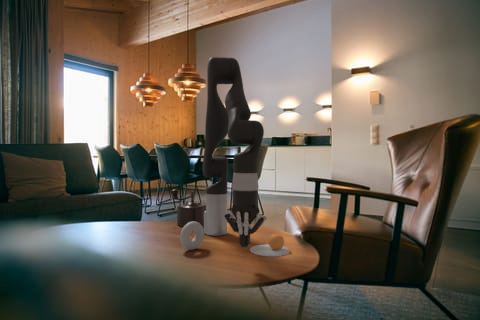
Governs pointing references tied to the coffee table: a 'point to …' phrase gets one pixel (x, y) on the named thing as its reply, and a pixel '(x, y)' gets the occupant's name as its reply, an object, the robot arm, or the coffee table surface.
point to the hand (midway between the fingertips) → (244, 246)
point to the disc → (269, 250)
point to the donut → (186, 233)
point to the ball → (276, 241)
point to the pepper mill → (188, 210)
